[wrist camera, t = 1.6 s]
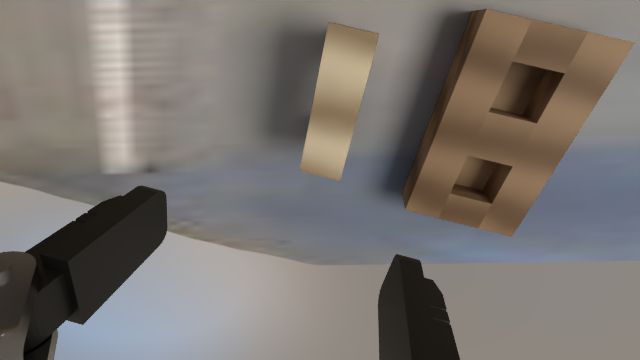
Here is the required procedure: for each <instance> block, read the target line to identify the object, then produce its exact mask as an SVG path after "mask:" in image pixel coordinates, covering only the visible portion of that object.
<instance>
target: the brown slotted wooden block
mask: <svg viewBox="0 0 640 360" xmlns="http://www.w3.org/2000/svg"><path fill="white" fill-rule="evenodd" d="M634 44H635V43H634V42H630V41H625V40H621V39H616V38H612V37H608V36H603V35H599V34H594V33H590V32H586V31H581V30H577V29H572V28H568V27H564V26H559V25H555V24H550V23H546V22H542V21H537V20H533V19H528V18H524V17H520V16H515V15H511V14H506V13H502V12H498V11H493V10H489V9H483V10H477V11H472V13H471V16H470V18H469V21H468V23H467V26H466V29H465V31H464V34H463V36H462V39H461V42H460V44H459V47H458V49H457V52H456V55H455V57H454V60H453V62H452V65H451V67H450V70H449V73H448V75H447V78H446V80H445V83H444V86H443V88H442V91H441V93H440V96H439V98H438V101H437V104H436V106H435V109H434V111H433V114H432V117H431V119H430V122H429V124H428V127H427V129H426V132H425V135H424V137H423V140H422V142H421V145H420V148H419V150H418V153H417V155H416V158H415V161H414V163H413V166H412V168H411V171H410V173H409V176H408V179H407V181H406V184H405V186H404V189H403V192H402V194H403V200H404V205H405V210H409V211H413V212H416V213H420V214H424V215H428V216H432V217H436V218H440V219H444V220H448V221H452V222H456V223H460V224H464V225H467V226H471V227H475V228H479V229H483V230H487V231H491V232H495V233H499V234H503V235H507V236H511V237H512V236H513V234H514V233H515V231H516V229H517V228H518V226H519V225H520V223H521V222H522V220H523V218H524V217H525V215H526V214H527V212H528V211H529V209H530V207H531V206H532V204H533V203H534V201H535V200H536V198H537V196H538V195H539V193H540V192H541V190H542V189H543V187H544V185H545V184H546V182H547V181H548V179H549V178H550V176H551V174H552V173H553V171H554V170H555V168H556V167H557V165H558V163H559V162H560V160H561V159H562V157H563V156H564V154H565V152H566V151H567V149H568V148H569V146H570V145H571V143H572V141H573V140H574V138H575V137H576V135H577V134H578V132H579V130H580V129H581V127H582V126H583V124H584V123H585V121H586V119H587V118H588V116H589V115H590V113H591V112H592V110H593V108H594V107H595V105H596V104H597V102H598V100H599V99H600V97H601V96H602V94H603V93H604V91H605V89H606V88H607V86H608V85H609V83H610V82H611V80H612V78H613V77H614V75H615V74H616V72H617V71H618V69H619V67H620V66H621V64H622V63H623V61H624V60H625V58H626V56H627V55H628V53H629V52H630V50H631V49H632V47H633V45H634Z"/></svg>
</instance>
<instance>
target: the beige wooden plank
mask: <svg viewBox="0 0 640 360" xmlns="http://www.w3.org/2000/svg"><path fill="white" fill-rule="evenodd" d="M378 38H379V33H374V32H370V31H366V30H362V29H357V28H353V27H349V26H344V25H340V24H336V23H330V22H328V27H327V33H326V38H325V43H324V48H323V53H322V58H321V63H320V69H319V74H318V79H317V84H316V89H315V94H314V100H313V105H312V110H311V115H310V120H309V125H308V130H307V136H306V141H305V146H304V151H303V156H302V161H301V167H300V171H302V172H306V173H310V174H314V175H318V176H322V177H326V178H330V179H334V180H338V181H340V179H341V175H342V171H343V168H344V164H345V160H346V157H347V153H348V149H349V145H350V142H351V138H352V134H353V131H354V127H355V123H356V119H357V116H358V112H359V108H360V105H361V101H362V97H363V93H364V90H365V86H366V82H367V78H368V75H369V71H370V67H371V64H372V60H373V56H374V52H375V49H376V45H377V41H378Z"/></svg>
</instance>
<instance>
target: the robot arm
mask: <svg viewBox="0 0 640 360" xmlns="http://www.w3.org/2000/svg"><path fill="white" fill-rule="evenodd" d="M166 232H167V204H166V194H165V192H163V191H161V190H157V189H153V188H149V187H145V186H138V187H136V188H135V189H133V190H132V191H130V192H129V193H127V194H126V195H124V196H117V197H114V198H112V199H109V200H106V201H103V202H101V203H100V204H98V205H97V206H95V207H93V208H92V209H90V210H89V211H88V213H84V214H83V215H81V216H80V217H78V218H77V219H76V221H72V222H71V223H69V224H67V225H66V226H64V227H63V228H61V229H60V230H58V231H57V232H55V233H54V234H52V235H51V236H49V237H48V238H46V239H44V240H43V241H41V242H40V243H38V244H37V245H35V246H34V247H32V248H31V249H29V250H28V251H26V252H15V251H11V252H2V253H0V360H54V355H55V349H56V344H57V338H58V331H57V328H58V327H59V326H60V325H61V324H62V323H64V322H65V320H68V321H71V322H75V323H78V324H82V325H83V324H84V323H85V322H86V321H87V320H88V319H89V318H90V317H91V316H92V315H93V314H94V312H96V311H97V310H98V309H99V308H100V307H101V306H102V304H103V303H104V302H105V301H106V300H107V299H108V298H109V297H110V296H111V295H112V294H113V293H114V292H115V291H116V290H117V289H118V288H119V287H120V286H121V285H122V284H123V283H124V282H125V281H126V279H128V278H129V277H130V276H131V274H132V273H133V272H134V271H135V270H136V269H137V268H138V267H139V266H140V265H141V264H142V263H143V262H144V261H145V260H146V259H147V258H148V257H149V256H150V255H151V254H152V253H153V252H154V250H155V249H157V248H158V246H159V245H160V244H161V243H162V241H163V240H164V238H165V235H166ZM378 320H379V360H460V358H459V354H458V350H457V347H456V343H455V339H454V335H453V332H452V328H451V325H450V324H449V323H450V320H449V317H448V313H447V312H446V305H445V302H444V298H443V294H442V293H441V291H440V290H439V288H438V287H437V285H436V284H435V283H434V281H433V280H430V279H427V278H424V276H423V271H422V266H421V262H420V260H417V259H413V258H410V257H406V256H402V255H398V254H396V255H395V257H394V259H393V261H392V263H391V266H390V268H389V270H388V272H387V275H386V277H385V280H384V282H383V284H382V287H381V290H380V294H379V300H378Z"/></svg>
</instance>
